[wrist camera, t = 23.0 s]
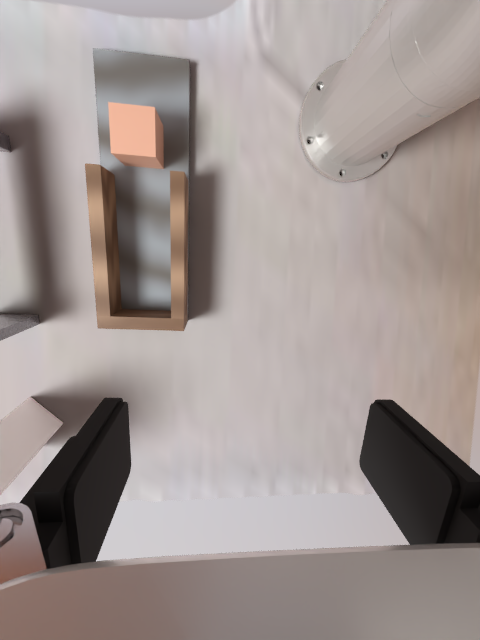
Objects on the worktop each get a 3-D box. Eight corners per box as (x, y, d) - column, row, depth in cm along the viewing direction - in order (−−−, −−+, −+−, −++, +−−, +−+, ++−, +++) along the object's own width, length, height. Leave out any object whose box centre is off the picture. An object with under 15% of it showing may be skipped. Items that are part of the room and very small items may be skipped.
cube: (123, 122, 31) (108, 102, 26) (163, 126, 31) (154, 107, 27) (125, 165, 32) (110, 153, 27) (163, 169, 32) (155, 157, 28)
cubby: (96, 54, 30) (73, 17, 25) (190, 65, 31) (185, 31, 26) (113, 317, 37) (97, 328, 32) (188, 320, 38) (183, 330, 33)
